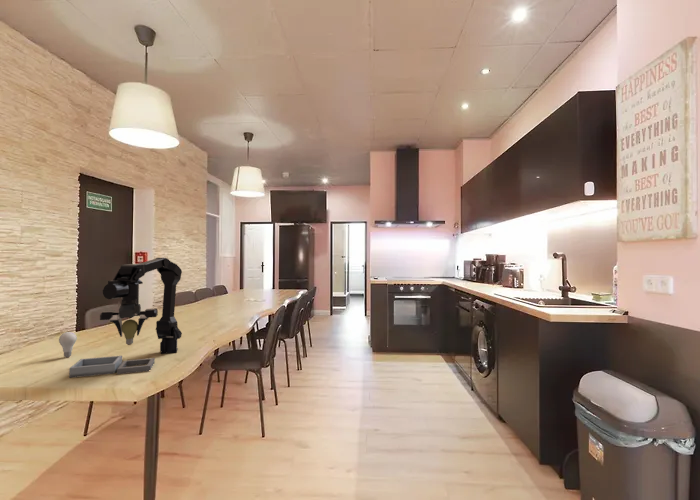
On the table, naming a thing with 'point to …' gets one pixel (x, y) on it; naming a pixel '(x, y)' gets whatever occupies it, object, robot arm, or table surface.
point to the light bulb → (129, 330)
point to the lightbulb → (67, 342)
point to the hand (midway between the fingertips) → (129, 336)
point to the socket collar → (123, 369)
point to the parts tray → (95, 366)
